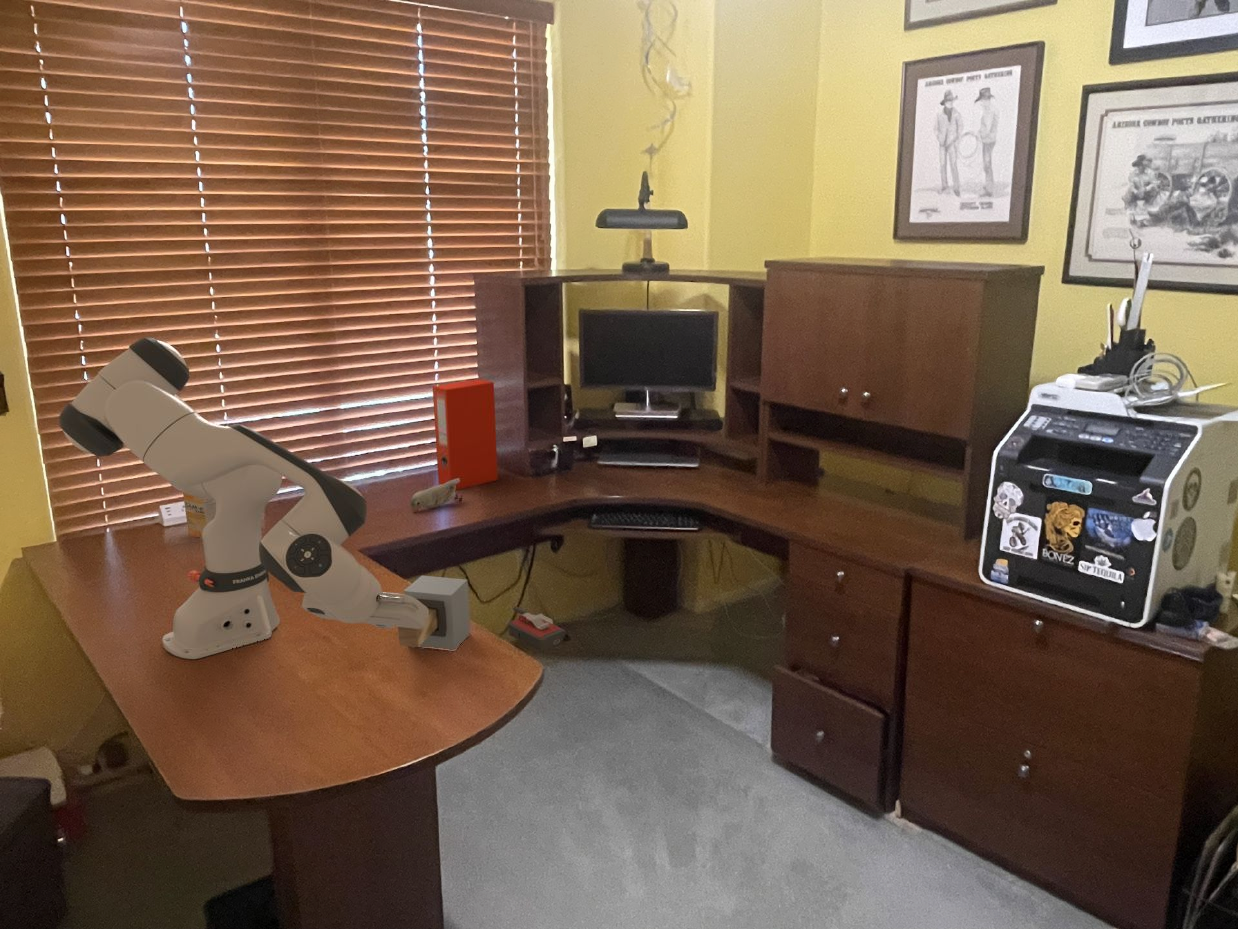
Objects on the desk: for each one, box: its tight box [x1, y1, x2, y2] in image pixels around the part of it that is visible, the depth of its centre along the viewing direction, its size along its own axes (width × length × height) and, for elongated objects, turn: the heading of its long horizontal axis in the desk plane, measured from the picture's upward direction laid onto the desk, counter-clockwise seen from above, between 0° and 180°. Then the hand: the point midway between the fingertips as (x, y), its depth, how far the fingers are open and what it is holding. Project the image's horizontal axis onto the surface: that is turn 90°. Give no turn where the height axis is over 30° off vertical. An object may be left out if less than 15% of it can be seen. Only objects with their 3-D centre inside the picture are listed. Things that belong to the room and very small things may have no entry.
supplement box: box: [182, 492, 216, 539], centre depth 244 cm, size 8×5×13 cm, turn 62°
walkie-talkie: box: [508, 605, 572, 652], centre depth 187 cm, size 9×4×20 cm
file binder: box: [432, 378, 499, 491], centre depth 286 cm, size 8×17×32 cm, turn 132°
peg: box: [397, 607, 439, 648], centre depth 176 cm, size 14×4×4 cm, turn 166°
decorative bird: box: [410, 478, 463, 513], centre depth 266 cm, size 5×16×8 cm, turn 129°
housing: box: [403, 575, 472, 650], centre depth 181 cm, size 9×10×12 cm
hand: (386, 624), depth 161 cm, fingers closed
